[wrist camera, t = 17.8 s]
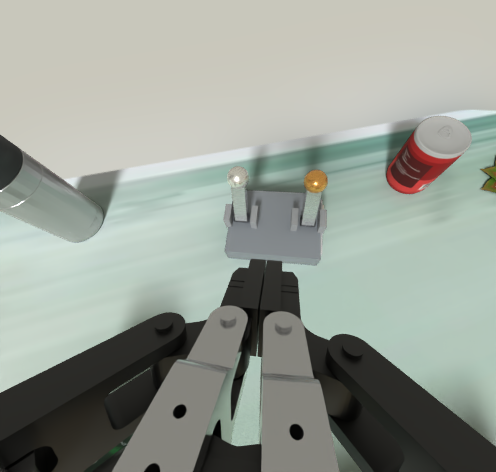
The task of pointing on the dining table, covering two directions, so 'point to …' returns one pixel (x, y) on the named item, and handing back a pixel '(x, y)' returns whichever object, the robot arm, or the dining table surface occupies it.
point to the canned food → (428, 153)
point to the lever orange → (312, 196)
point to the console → (275, 229)
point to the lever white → (239, 193)
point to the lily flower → (490, 185)
